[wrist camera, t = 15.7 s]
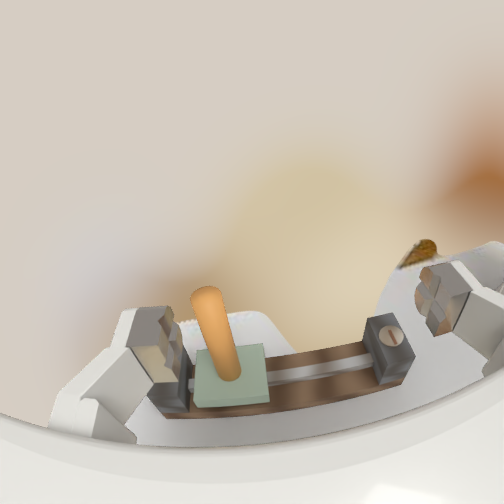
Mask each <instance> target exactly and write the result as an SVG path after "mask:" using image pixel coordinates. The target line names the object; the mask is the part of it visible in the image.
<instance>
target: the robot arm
mask: <svg viewBox="0 0 504 504" xmlns="http://www.w3.org/2000/svg"><path fill="white" fill-rule="evenodd" d="M419 278H420V280H421V283H420V284H419V285H418V286H417V287H416V291H415V304H416V307H417V309H418V311H419V313H420V314H421V315H423V316H425V317H426V324H427V326H428V328H429V329H430V331H431V333H432V334H433V336H434V337H435V336H439V335H442V334H445V333H448V332H451V331H453V333H454V334H455V335H457V336H458V337H459V338H461V339H462V340H463V341H465V342H466V343H467V344H469V345H470V346H471V347H473V348H474V349H475V350H476V351H478V352H479V353H480V354H482V355H483V356H484V357H486V358H487V359H488V362H487V363H486V364H485V366H484V367H483V369H482V373H483V375H484V378H482V379H480V380H478V381H476V382H474V383H472V384H470V385H468V386H466V387H464V388H462V389H460V390H458V391H456V392H454V393H451V394H449V395H447V396H445V397H442V398H440V399H438V400H435V401H433V402H430V403H428V404H425V405H423V406H420V407H418V408H415V409H412V410H409V411H407V412H404V413H401V414H398V415H395V416H392V417H389V418H386V419H383V420H379V421H376V422H372V423H369V424H365V425H362V426H358V427H354V428H350V429H346V430H342V431H338V432H333V433H328V434H324V435H319V436H313V437H308V438H302V439H296V440H289V441H282V442H275V443H266V444H256V445H244V446H229V447H166V446H150V445H138V444H136V441H137V437H136V436H135V434H134V433H132V432H131V431H130V430H129V429H128V428H126V427H125V426H124V424H125V423H126V422H127V420H128V419H129V418H130V416H131V415H132V413H133V412H134V411H135V409H136V408H137V407H138V405H139V404H140V402H141V401H142V400H143V398H144V397H145V396H146V394H147V393H148V391H149V390H150V389H151V387H152V386H153V385H154V384H153V383H161V382H179V374H180V365H181V364H180V362H179V360H178V357H179V356H180V355H181V353H182V348H183V342H182V334H181V330H180V328H179V325H178V324H177V323H175V322H173V318H174V313H173V311H172V309H171V307H169V306H157V307H142V308H130V309H125V310H123V311H122V313H121V316H120V319H119V321H118V324H117V327H116V330H115V333H114V336H113V339H112V342H111V345H110V348H105V349H104V350H103V351H102V352H101V353H100V354H99V355H97V356H96V357H95V358H94V359H93V360H92V361H91V362H90V363H89V364H88V365H87V366H86V367H85V368H84V369H83V370H82V371H81V372H79V373H78V374H77V375H76V376H75V377H74V378H73V379H72V380H71V381H70V382H69V383H68V384H67V385H66V386H65V387H64V388H63V389H62V390H61V391H60V392H59V393H58V395H57V398H56V401H55V404H54V407H53V410H52V414H51V417H50V420H49V424H48V427H47V428H45V427H42V426H38V425H35V424H31V423H28V422H25V421H21V420H19V419H16V418H13V417H10V416H7V415H5V414H2V413H0V504H504V282H503V283H502V284H501V285H500V287H499V288H498V289H497V290H496V291H494V290H492V289H490V288H488V287H483V286H482V285H481V284H480V283H479V281H478V280H477V279H476V278H475V277H474V276H473V275H472V273H471V272H470V271H469V270H468V269H467V268H466V267H465V266H464V265H463V263H462V262H461V261H459V260H453V261H449V262H446V263H441V264H437V265H432V266H428V267H424V268H423V269H422V271H421V273H420V277H419ZM503 281H504V280H503Z"/></svg>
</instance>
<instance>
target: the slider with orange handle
mask: <svg viewBox="0 0 504 504" xmlns="http://www.w3.org/2000/svg"><path fill="white" fill-rule="evenodd" d="M190 301H191V304H192V307H193V310H194V312H195V315H196V318H197V321H198V324H199V326H200V329H201V332H202V335H203V337H204V340H205V343H206V345H207V348H208V349H206V350H197V354H196V367H195V381H194V397H193V401H194V403H195V404H196V406H197V407H198V408H204V407H222V406H236V405H247V404H257V403H265V402H270V398H269V390H268V381H267V373H266V364H265V356H264V348H263V343H262V344H254V345H246V346H237V347H235V344H234V341H233V337H232V333H231V329H230V326H229V322H228V318H227V314H226V310H225V307H224V303H223V299H222V295H221V291H220V290H219V289H218V288H216V287H213V286H205V287H202V288H199V289H197V290H196V291H194V292H193V294H192V295H191V297H190Z"/></svg>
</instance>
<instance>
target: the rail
mask: <svg viewBox="0 0 504 504" xmlns="http://www.w3.org/2000/svg"><path fill="white" fill-rule="evenodd" d="M415 357H416V356H415V354H414V352H413V350H412V348H411V346H410V344H409V342H408V340H407V338H406V336H405V334H404V332H403V331H402V329H401V327H400V325H399V323H398V321H397V319H396V318H395V316H394V314H393V313H388V314H384V315H380V316H375V317H371V318H367V322H366V327H365V332H364V335H363V339H362V341H360V342H355V343H351V344H346V345H341V346H336V347H331V348H326V349H320V350H315V351H309V352H303V353H297V354H291V355H284V356H277V357H270V358H265V364H266V373H267V381H268V390H269V398H270V402H265V403H257V404H247V405H236V406H222V407H204V408H198V407H197V406H196V404H195V403H194V401H193V397H194V381H195V367H196V365H193V364H192V362H191V360H190V358H189V356H188V354H187V352H186V350H185V348H184V346H183V348H182V353H181V355H180V356H179V357H178V360H179V362H180V364H181V365H180V374H179V382H161V383H153V384H154V385H153V386H152V387H151V389H150V390H149V391H148V393H147V397H148V398H149V399H150V400H151V401H152V403H153V404H154V405H155V406H156V407H157V408H158V410H159V411H160V412H161V413H162V414H163V415H164V416H165V418H166V419H199V418H223V417H237V416H249V415H258V414H267V413H275V412H282V411H289V410H296V409H302V408H308V407H313V406H318V405H323V404H328V403H333V402H338V401H342V400H347V399H351V398H355V397H359V396H363V395H367V394H370V393H374V392H378V391H381V390H385V389H388V388H391V387H394V386H398V385H401V384H402V382H403V380H404V378H405V376H406V374H407V372H408V370H409V369H410V367H411V365H412V363H413V361H414V359H415Z"/></svg>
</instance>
